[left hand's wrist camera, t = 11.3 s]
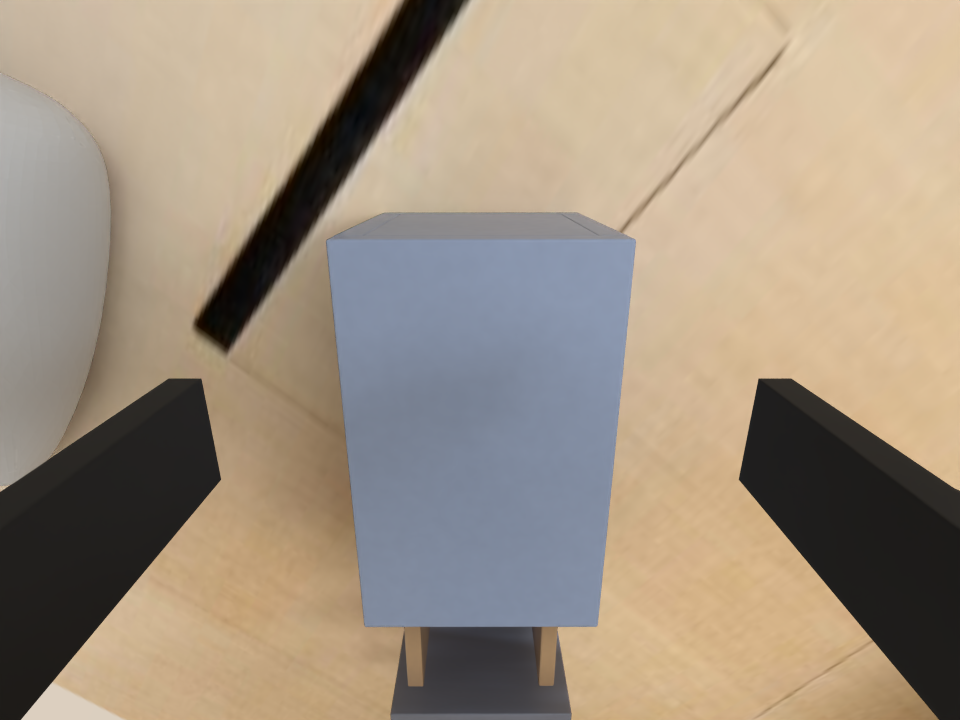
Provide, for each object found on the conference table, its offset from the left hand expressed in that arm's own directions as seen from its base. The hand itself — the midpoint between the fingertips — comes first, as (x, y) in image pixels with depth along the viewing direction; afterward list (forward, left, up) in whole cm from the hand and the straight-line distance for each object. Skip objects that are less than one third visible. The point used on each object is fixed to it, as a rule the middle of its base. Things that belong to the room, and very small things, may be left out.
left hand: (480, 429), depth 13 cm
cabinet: (+5, -1, -18) cm, 19 cm away
